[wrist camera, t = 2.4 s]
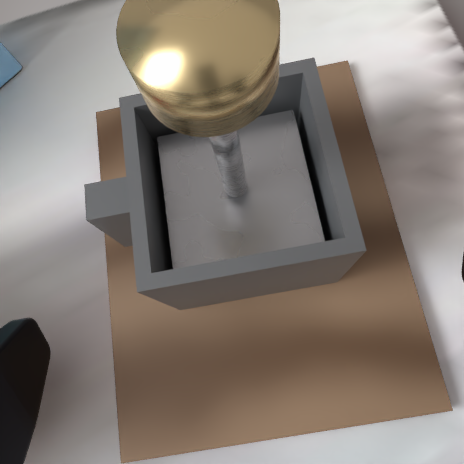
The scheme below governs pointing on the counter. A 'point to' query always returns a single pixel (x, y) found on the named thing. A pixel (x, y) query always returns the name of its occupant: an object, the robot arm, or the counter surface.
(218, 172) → the plunger
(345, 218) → the grey open box
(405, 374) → the walnut board
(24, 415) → the robot arm
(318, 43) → the counter surface
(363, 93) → the counter surface
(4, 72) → the gum box
